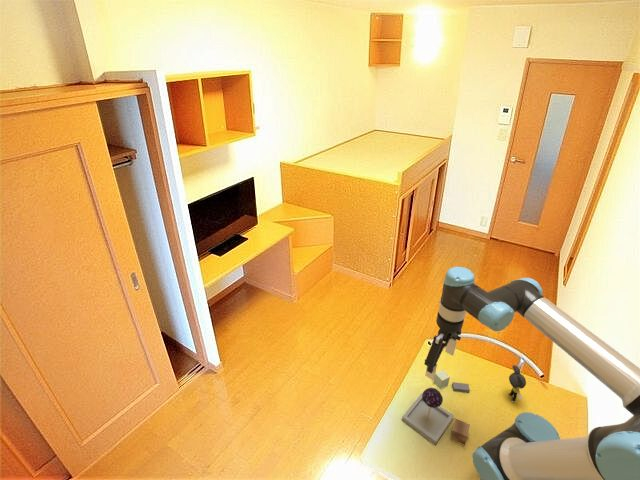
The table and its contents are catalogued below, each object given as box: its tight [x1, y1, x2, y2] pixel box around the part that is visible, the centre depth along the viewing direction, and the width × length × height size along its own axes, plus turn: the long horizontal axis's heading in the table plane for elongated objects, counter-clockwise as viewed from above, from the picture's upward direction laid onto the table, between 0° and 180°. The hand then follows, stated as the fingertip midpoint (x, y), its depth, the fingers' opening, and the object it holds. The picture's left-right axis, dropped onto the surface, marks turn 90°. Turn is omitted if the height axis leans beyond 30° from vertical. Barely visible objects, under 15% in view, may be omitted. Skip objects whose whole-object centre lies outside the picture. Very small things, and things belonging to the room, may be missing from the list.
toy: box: [508, 365, 527, 403], centre depth 132 cm, size 8×5×15 cm, turn 179°
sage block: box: [432, 369, 451, 390], centre depth 141 cm, size 4×4×5 cm
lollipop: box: [421, 387, 444, 419], centre depth 124 cm, size 7×7×15 cm
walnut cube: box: [449, 418, 471, 446], centre depth 122 cm, size 5×5×5 cm
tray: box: [401, 393, 455, 446], centre depth 128 cm, size 13×13×2 cm
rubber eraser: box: [451, 381, 471, 394], centre depth 139 cm, size 6×3×2 cm, turn 81°
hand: (439, 364), depth 114 cm, fingers open, 13 cm apart
